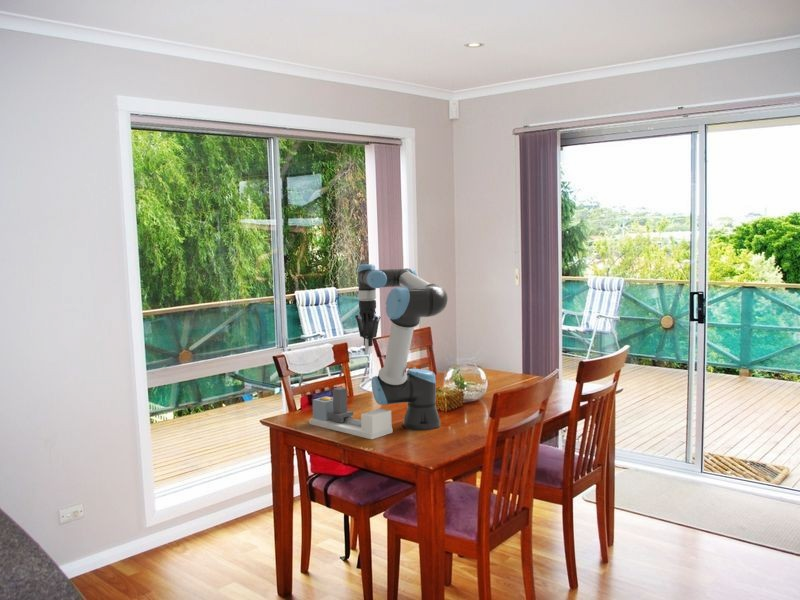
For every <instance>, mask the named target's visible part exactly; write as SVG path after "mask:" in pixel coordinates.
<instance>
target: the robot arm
mask: <svg viewBox="0 0 800 600" xmlns="http://www.w3.org/2000/svg"><path fill="white" fill-rule="evenodd" d="M357 279H358V287H357V288H358V300H359V301H358V309H359V313H358V314H355V316H354V317H355V320H356V322H357V327H358V332H359V336H360V337H361V338H363V346H364V353H365V354H366V355H370V354H372V351H373V350H372V348H373V346H374V345H373V343H374V342H373V339H374V338H377V334H378V329H379V328H378V327H379V325H380V323H379V322H380V320H381V316H380V315H378V314H377V311H376V309H377V301H376V298H377V295H376V294H377V293H376V291H377V290H376V289H381V288H392V289H391V290H390V291H389V292H388V294H387V297H386V299H385V300H386V301H385V312H386V316H387V317H388V319H389V321H390V322H391V327H390V332H389V338H388V341H387V342H388V343H387V347H386V354H385V359H384V363H383V367H381V368H380V369H379V370H378V375H375V376H373V377H372V378H371V391H372V394H373V398H374V400H375V403H376V404H378V405H383V406H384V405H385V406H386V405H394V404H395V405H396V404H403V403H407V408H406V412H405V415H404V418H403V427H404V428H406V429H410V430H416V431H428V430H434V429H438V428H439V427H441V419H440V415H439V413H438V409H437V405H436V403H437V402H436V401H437V400H436V399H437V398H436V397H437V394H436V393H437V391H436V390H437V387H436V386H437V382H436V381H437V380H436V374H435V372H433V371H432V370H428V369H423V368H422V369H421V368H408V369H407V370H406V367H407V364H408V357H409V353H410V349H411V344H412V339H413V335H414V331H415V330H414V329H415V328H416V327H417V326H418V325H419V324H420V321H421V318H428V317H435V316H437V315H439V314H441V313H442V312H443V311H444V310H445V309H446V306H447V304H448V294H447V292H446V290H445V289H444V288H443V287H442V286H440V285H439V284H436V283H430V282H428V281H426V280H424V279H423V278H422V277H419V276H418V273H417V271H416V270H415V269H414V268H407V267H406V268H393V269H392V268H391V269H389V268H388V269H376V265H375V264H373V263H372V264H369V263H368V264H359V265H358V267H357Z"/></svg>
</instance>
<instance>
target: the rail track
mask: <svg viewBox="0 0 800 600" xmlns="http://www.w3.org/2000/svg"><path fill="white" fill-rule="evenodd" d="M360 417H361V419H360V420H361V427H359V426H355V425H351V424H347V423H340V422H336V421H332V420H329V421H322V420H318V419H314V418H313V417H312V418H310V419H309V420H308V421H309V425H312V426H316V427H321V428H324V429H328V430H332V431H337V432H340V433H345V434H348V435H353V436H356V437H361V438H365V439H369V440H374V439H377V438H380V437H383V436H386V435H389V434H392V433H393V432H394V431H393V427H392V426H393V425H392V422H393V421H392V410H390V409H385V408H378V409H373V410H370V411H366V412H364V413H361V414H360Z"/></svg>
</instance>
